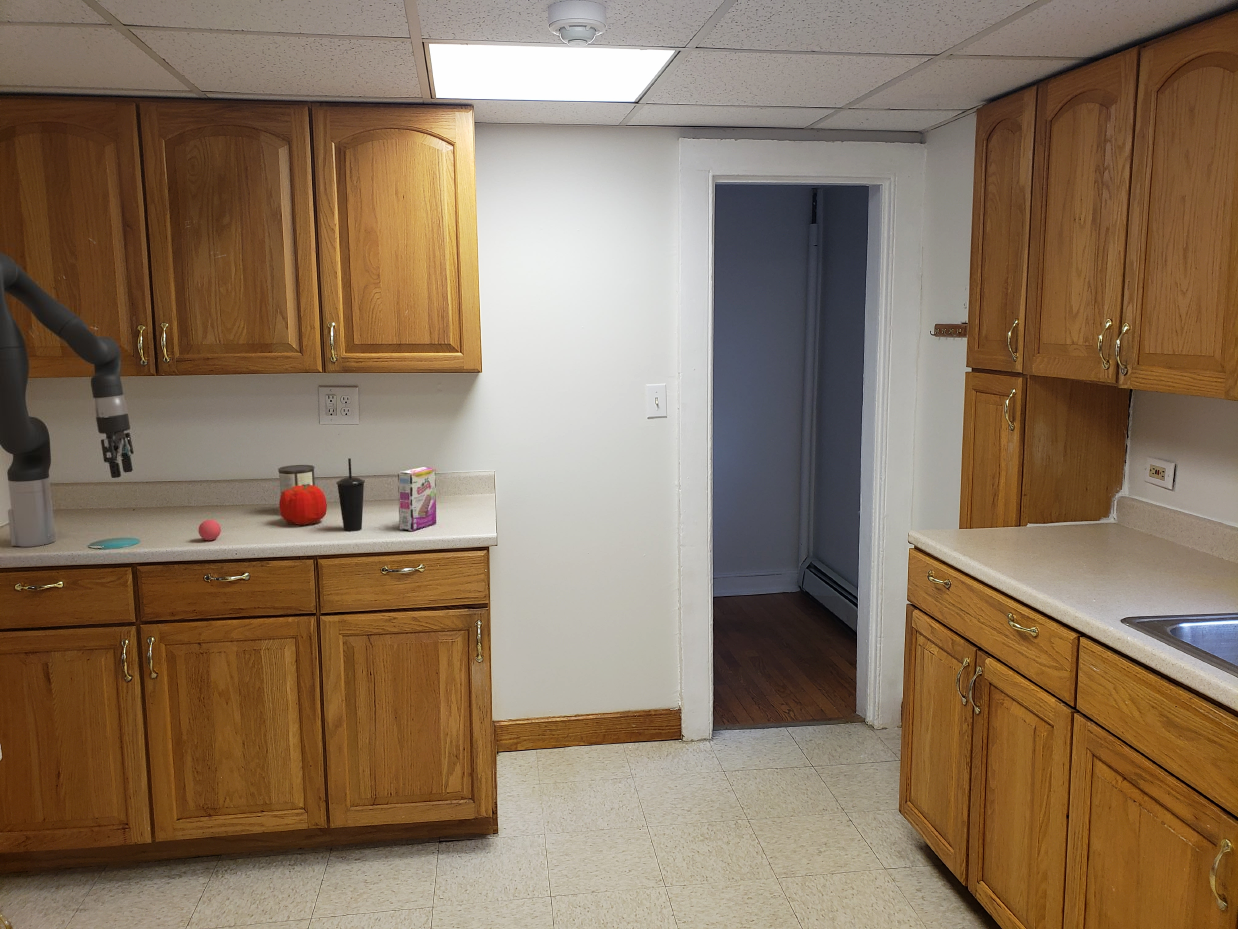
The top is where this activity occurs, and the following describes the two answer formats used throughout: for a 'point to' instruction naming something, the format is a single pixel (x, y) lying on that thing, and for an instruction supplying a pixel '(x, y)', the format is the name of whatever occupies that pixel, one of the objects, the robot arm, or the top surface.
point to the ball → (209, 530)
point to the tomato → (303, 505)
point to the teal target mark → (115, 543)
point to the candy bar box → (417, 498)
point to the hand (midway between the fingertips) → (122, 474)
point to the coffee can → (296, 476)
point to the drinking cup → (351, 501)
